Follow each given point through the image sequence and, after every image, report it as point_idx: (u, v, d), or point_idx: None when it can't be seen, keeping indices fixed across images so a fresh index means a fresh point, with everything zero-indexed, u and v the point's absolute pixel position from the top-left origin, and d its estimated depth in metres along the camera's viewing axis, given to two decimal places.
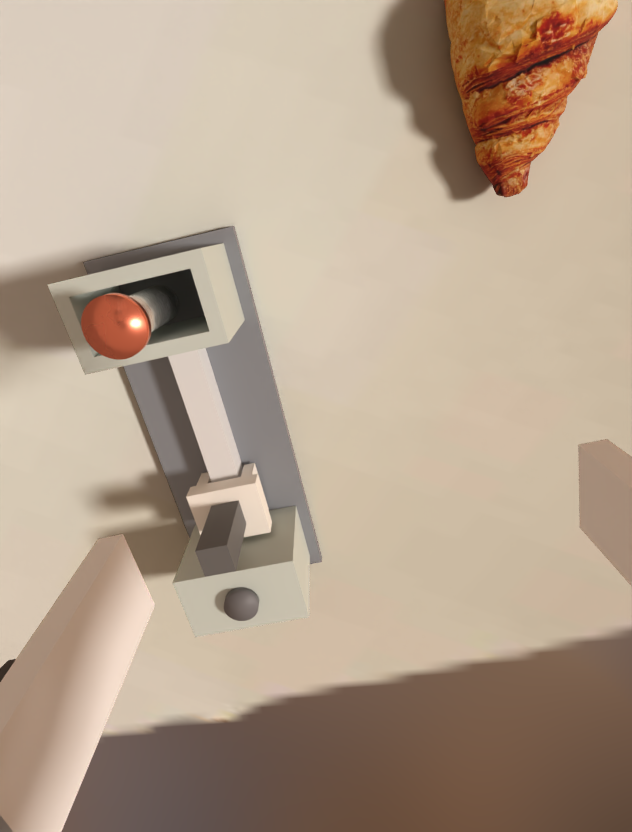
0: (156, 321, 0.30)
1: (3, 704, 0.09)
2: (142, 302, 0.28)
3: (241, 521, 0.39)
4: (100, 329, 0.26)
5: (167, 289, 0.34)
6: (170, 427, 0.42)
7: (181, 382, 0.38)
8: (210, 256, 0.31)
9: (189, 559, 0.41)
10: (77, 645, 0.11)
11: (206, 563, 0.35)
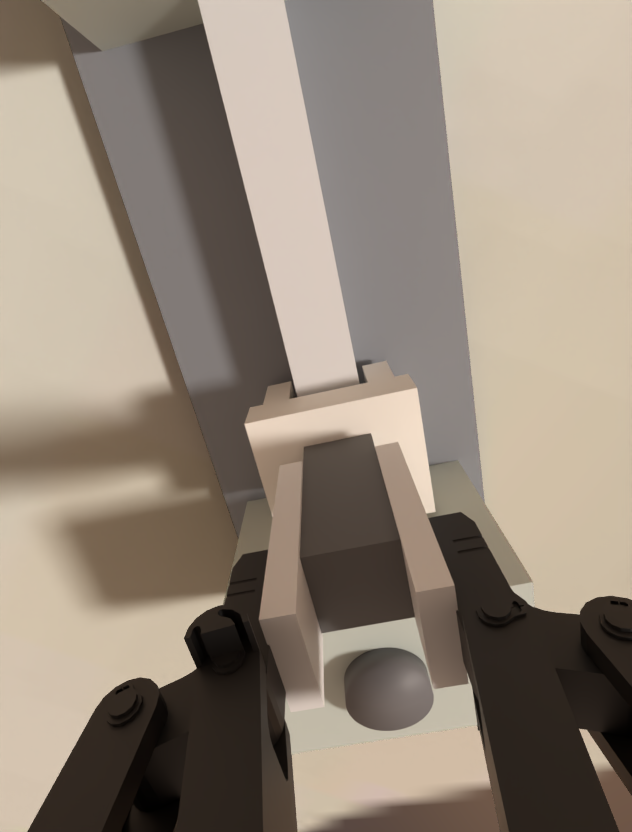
0: None
1: (282, 570, 0.11)
2: None
3: None
4: None
5: None
6: (201, 277, 0.19)
7: (240, 120, 0.15)
8: None
9: None
10: None
11: (331, 593, 0.12)
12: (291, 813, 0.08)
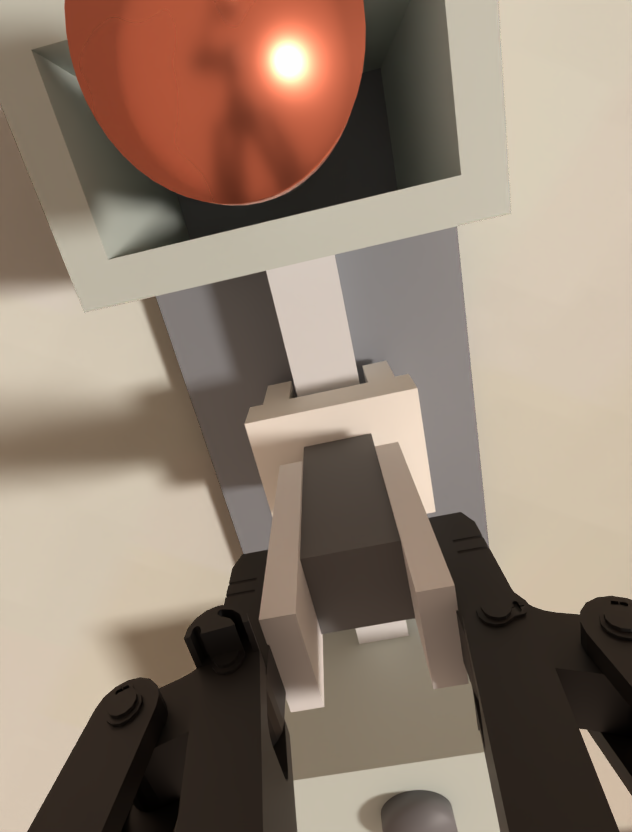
0: None
1: (282, 571, 0.11)
2: None
3: None
4: (153, 47, 0.06)
5: None
6: None
7: (296, 352, 0.17)
8: None
9: None
10: None
11: (331, 595, 0.12)
12: (291, 813, 0.08)
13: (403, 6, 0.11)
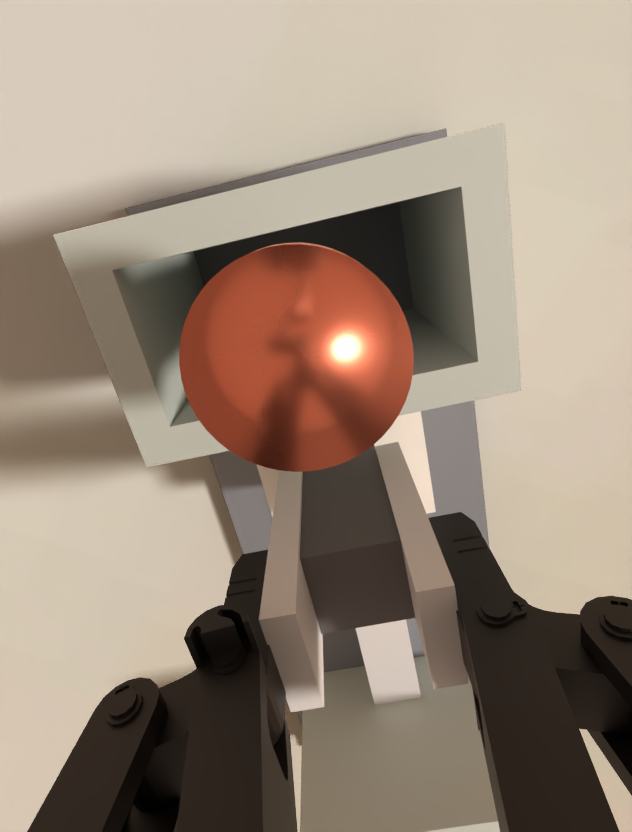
0: None
1: (282, 571, 0.11)
2: None
3: None
4: (247, 373, 0.07)
5: None
6: None
7: None
8: None
9: (317, 775, 0.22)
10: None
11: (331, 594, 0.12)
12: (291, 813, 0.08)
13: None
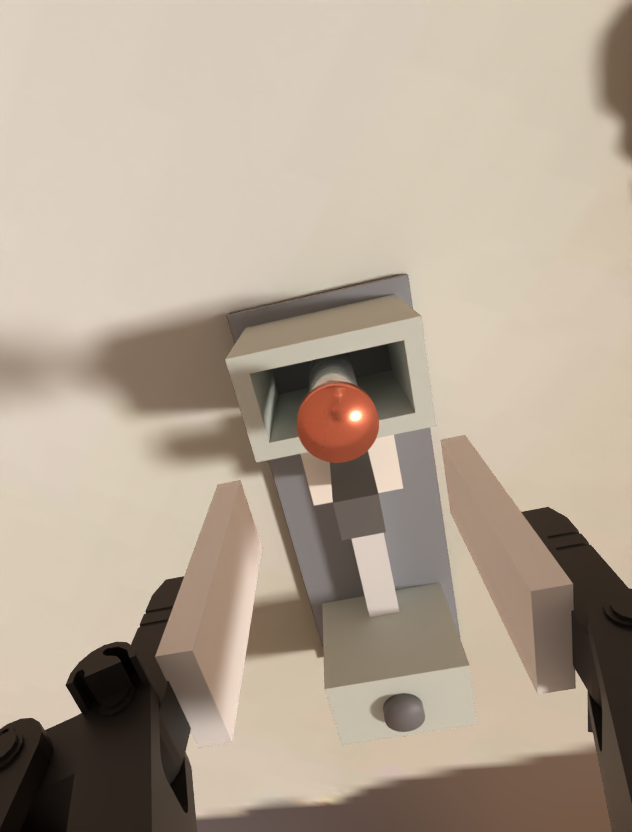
0: None
1: (192, 601, 0.10)
2: None
3: None
4: (320, 427, 0.21)
5: (343, 354, 0.28)
6: (306, 499, 0.36)
7: None
8: None
9: (333, 654, 0.35)
10: (228, 565, 0.12)
11: (346, 520, 0.25)
12: None
13: None
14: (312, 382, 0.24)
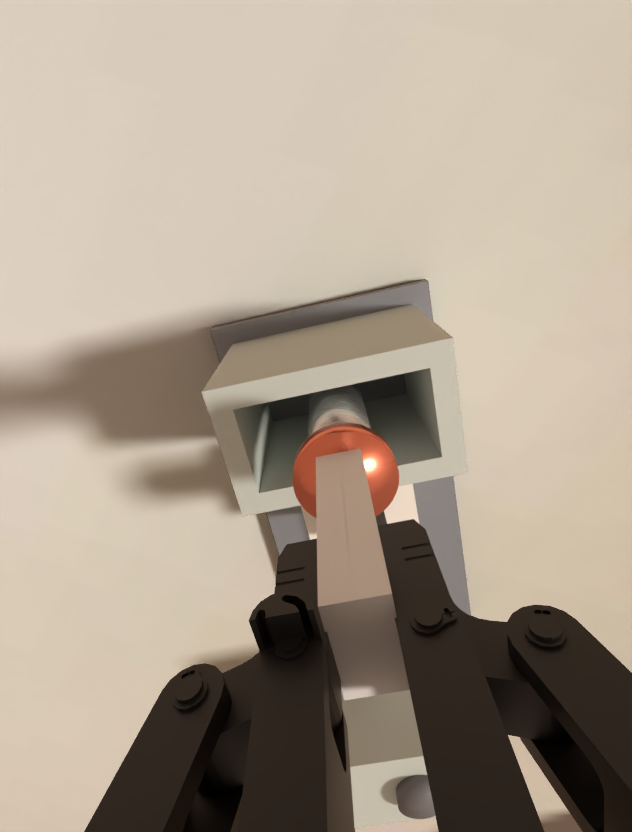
0: None
1: (335, 559, 0.11)
2: (364, 424, 0.18)
3: None
4: None
5: None
6: (305, 540, 0.31)
7: None
8: None
9: None
10: None
11: None
12: (349, 805, 0.08)
13: None
14: (312, 416, 0.20)
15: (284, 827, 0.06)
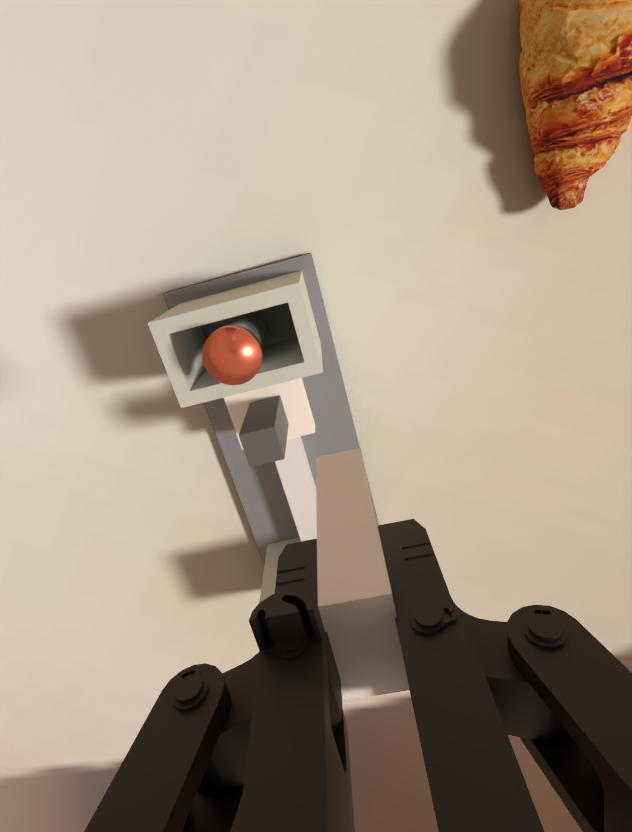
0: None
1: (335, 559, 0.11)
2: None
3: (284, 417, 0.36)
4: (219, 358, 0.29)
5: (257, 314, 0.36)
6: None
7: None
8: (302, 288, 0.31)
9: (270, 580, 0.41)
10: None
11: (251, 449, 0.31)
12: (349, 805, 0.08)
13: None
14: None
15: (284, 827, 0.06)
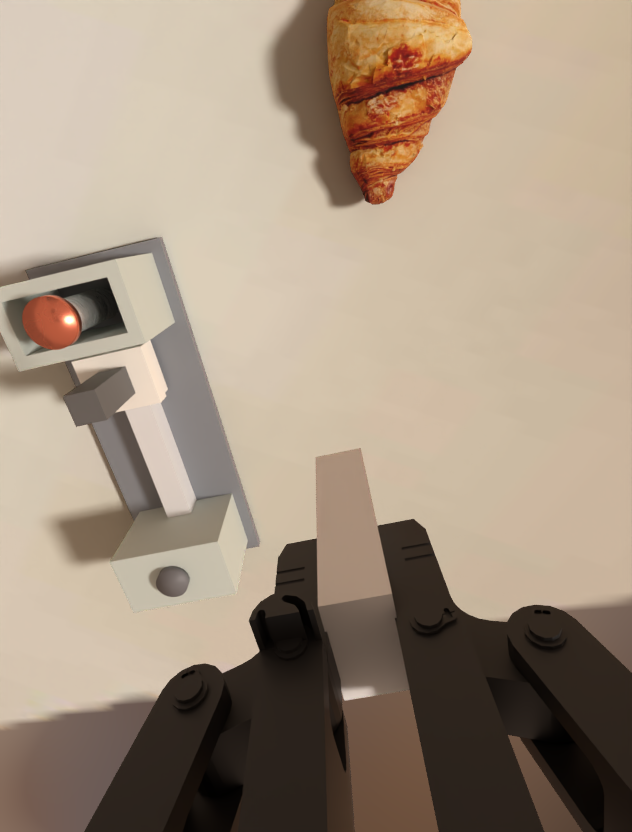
0: (91, 318, 0.35)
1: (335, 559, 0.11)
2: (77, 303, 0.34)
3: (126, 385, 0.39)
4: (38, 324, 0.32)
5: (107, 291, 0.39)
6: (111, 420, 0.46)
7: None
8: (129, 266, 0.35)
9: (128, 541, 0.45)
10: None
11: (76, 410, 0.34)
12: (349, 805, 0.08)
13: None
14: None
15: (284, 827, 0.06)
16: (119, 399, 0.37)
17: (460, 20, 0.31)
